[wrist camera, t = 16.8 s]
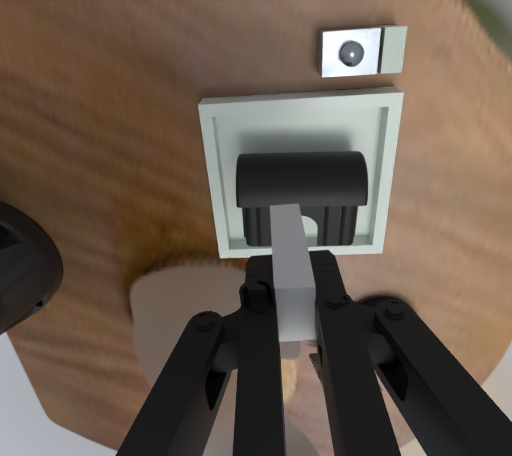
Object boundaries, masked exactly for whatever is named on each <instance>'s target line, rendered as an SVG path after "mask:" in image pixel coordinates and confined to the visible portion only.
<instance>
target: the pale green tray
mask: <svg viewBox="0 0 512 456" xmlns="http://www.w3.org/2000/svg"><path fill="white" fill-rule="evenodd" d="M375 27H379V28H381V34H380V44H379V55H378V65H377V72H378V73H380V74H385V73H400V72H402V64H403V56H404V49H405V41H406V33H407V26H404V25H382V26H375ZM403 95H404V92H402V91H401V90H399V89H398V88H396V87H394V86H392V87H375V88H359V89H343V90H327V91H311V92H294V93H278V94H262V95H246V96H230V97H213V98H203V99H202V100H201V102H200V103H199V104H198V109H199V116H200V123H201V129H202V136H203V143H204V150H205V157H206V164H207V171H208V178H209V185H210V192H211V199H212V206H213V213H214V220H215V227H216V234H217V241H218V248H219V255H220V258H244V257H251V256H255V255H270V254H272V246H267V247H252V246H248V245H247V244H246V238H245V237H244V232H243V217H242V208H238V207H237V206H236V164H237V158H238V156H239V155H240V154H252V153H294V152H337V151H360V152H361V153H362V154H363V156H364V158H365V161H366V165H367V171H368V202H367V205H366V206H358V213H357V222H356V230H355V236H354V240H353V244H352V245H349V246H317V229H318V228H317V224H316V223H315V221H314V220H312V219H311V218H309V217H306V216H301V217H302V222H303V226H304V231H305V236H306V241H307V246H308V251H317V250H329V251H330V252H331V253H332V254H333V255H343V254H376V253H382V250H383V243H384V235H385V228H386V221H387V213H388V206H389V198H390V191H391V184H392V176H393V169H394V161H395V154H396V147H397V139H398V132H399V124H400V117H401V110H402V102H403Z"/></svg>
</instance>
